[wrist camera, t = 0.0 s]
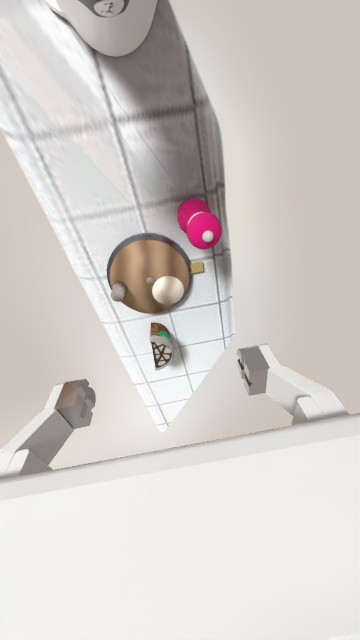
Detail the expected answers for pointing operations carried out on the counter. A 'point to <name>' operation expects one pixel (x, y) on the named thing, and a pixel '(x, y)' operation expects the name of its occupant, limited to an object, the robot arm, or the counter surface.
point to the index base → (191, 266)
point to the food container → (161, 346)
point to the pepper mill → (199, 223)
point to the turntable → (149, 276)
